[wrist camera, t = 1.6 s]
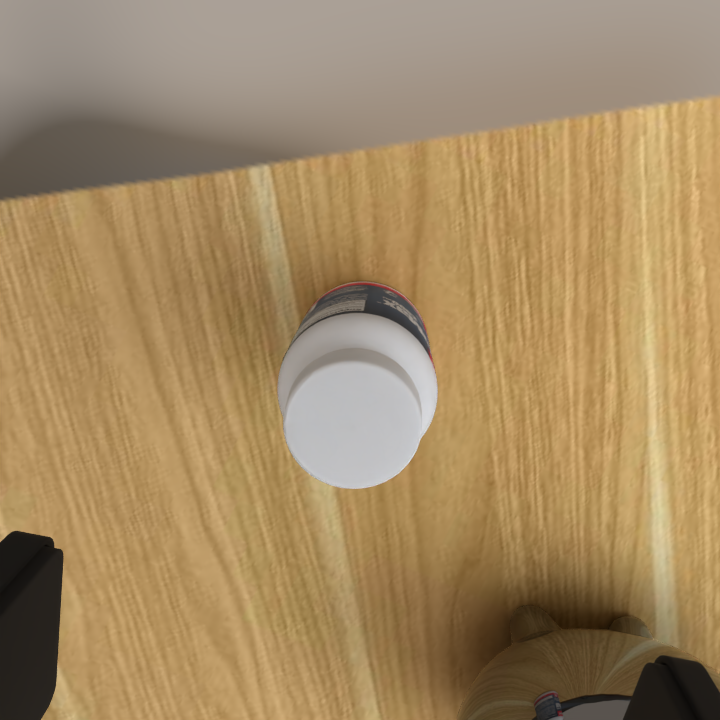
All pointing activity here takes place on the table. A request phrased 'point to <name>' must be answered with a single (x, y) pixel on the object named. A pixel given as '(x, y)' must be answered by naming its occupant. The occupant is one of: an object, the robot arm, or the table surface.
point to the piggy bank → (565, 671)
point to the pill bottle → (357, 386)
